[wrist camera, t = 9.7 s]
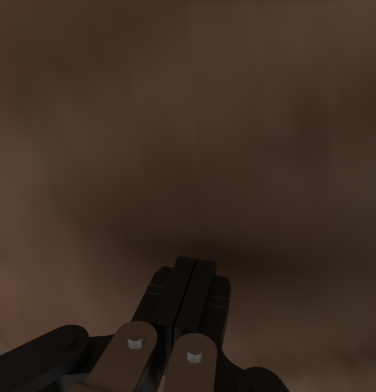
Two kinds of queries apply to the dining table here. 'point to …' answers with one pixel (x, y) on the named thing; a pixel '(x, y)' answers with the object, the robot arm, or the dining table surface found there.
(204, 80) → the dining table surface
